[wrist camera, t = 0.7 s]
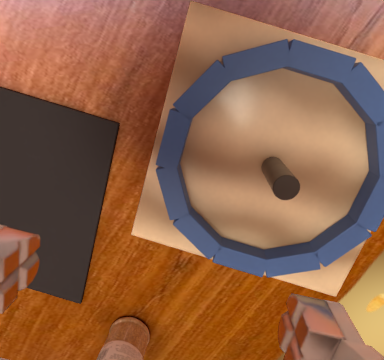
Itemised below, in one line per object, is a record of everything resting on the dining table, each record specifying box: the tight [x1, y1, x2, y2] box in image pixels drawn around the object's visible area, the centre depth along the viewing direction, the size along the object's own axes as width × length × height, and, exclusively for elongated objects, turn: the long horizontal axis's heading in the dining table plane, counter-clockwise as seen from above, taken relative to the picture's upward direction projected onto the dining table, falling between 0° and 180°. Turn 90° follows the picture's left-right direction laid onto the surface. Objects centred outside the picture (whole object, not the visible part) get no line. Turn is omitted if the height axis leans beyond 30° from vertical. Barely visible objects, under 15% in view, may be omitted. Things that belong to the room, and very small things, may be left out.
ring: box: [156, 39, 384, 277], centre depth 22 cm, size 17×17×2 cm
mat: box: [0, 87, 120, 304], centre depth 29 cm, size 20×20×1 cm
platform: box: [131, 1, 384, 297], centre depth 22 cm, size 18×18×9 cm
